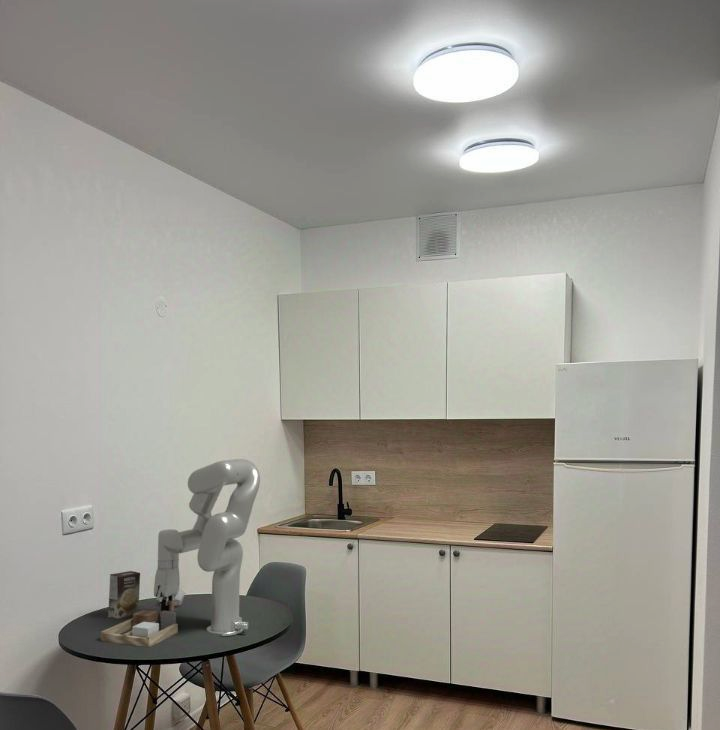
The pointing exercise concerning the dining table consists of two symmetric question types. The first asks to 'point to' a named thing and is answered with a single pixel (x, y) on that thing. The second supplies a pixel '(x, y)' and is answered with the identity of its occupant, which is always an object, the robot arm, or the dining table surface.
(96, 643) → the dining table surface
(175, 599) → the die
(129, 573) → the coffee box
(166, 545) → the robot arm
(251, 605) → the dining table surface
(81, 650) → the dining table surface
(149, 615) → the walnut block
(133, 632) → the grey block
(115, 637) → the lane shelf
